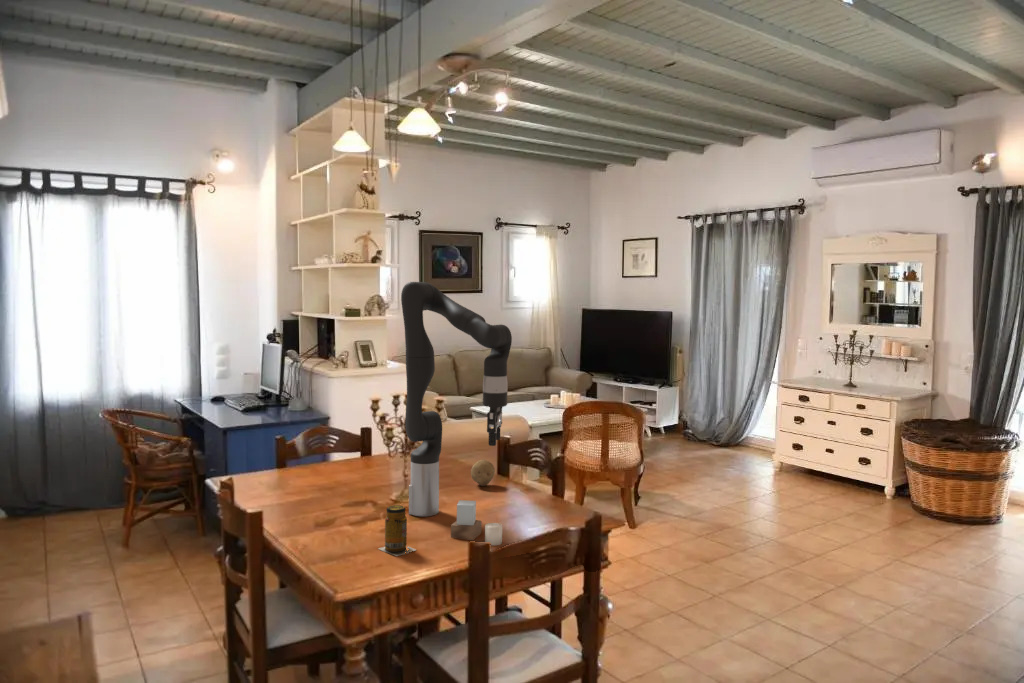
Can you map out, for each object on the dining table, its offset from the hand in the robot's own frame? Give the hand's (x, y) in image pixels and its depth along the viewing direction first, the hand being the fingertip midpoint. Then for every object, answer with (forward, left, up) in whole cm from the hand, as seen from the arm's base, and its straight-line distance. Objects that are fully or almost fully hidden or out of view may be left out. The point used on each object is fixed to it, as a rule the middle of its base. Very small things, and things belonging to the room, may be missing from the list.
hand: (494, 442), depth 226 cm
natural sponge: (-10, +45, -27) cm, 53 cm away
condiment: (-24, -23, -27) cm, 43 cm away
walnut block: (-7, -8, -27) cm, 29 cm away
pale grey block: (-7, -8, -23) cm, 25 cm away
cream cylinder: (+2, -13, -27) cm, 30 cm away
